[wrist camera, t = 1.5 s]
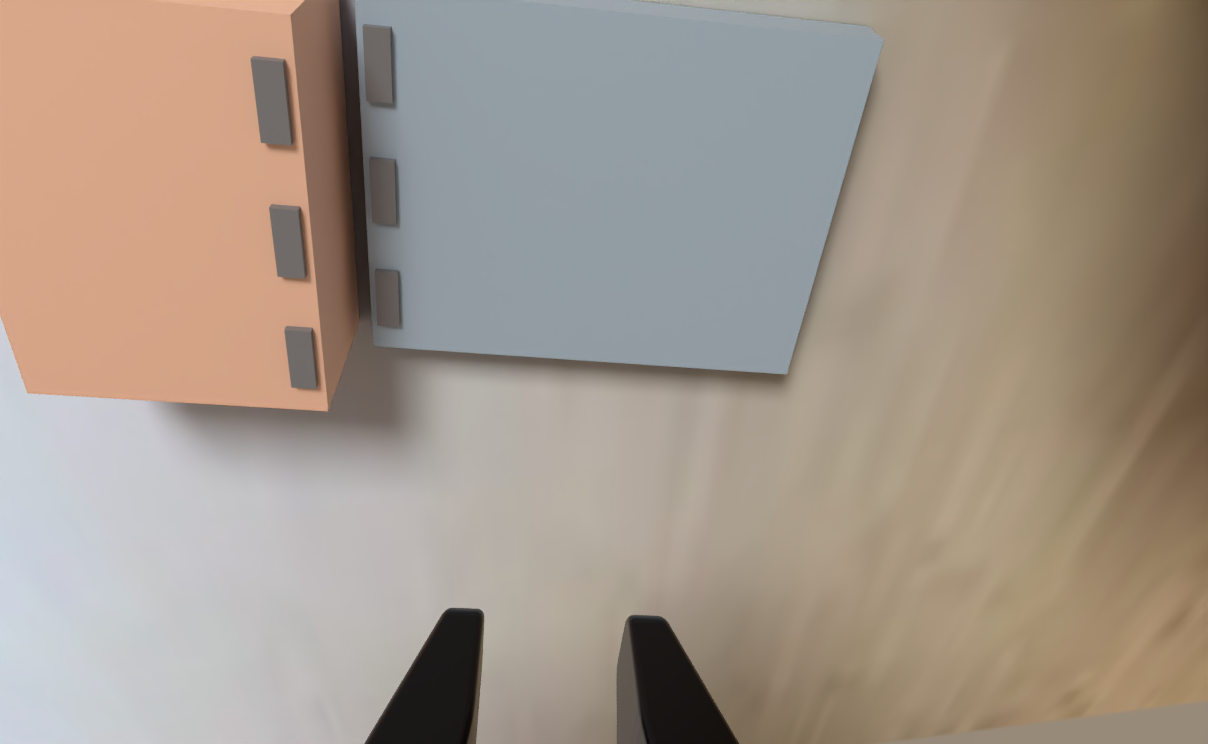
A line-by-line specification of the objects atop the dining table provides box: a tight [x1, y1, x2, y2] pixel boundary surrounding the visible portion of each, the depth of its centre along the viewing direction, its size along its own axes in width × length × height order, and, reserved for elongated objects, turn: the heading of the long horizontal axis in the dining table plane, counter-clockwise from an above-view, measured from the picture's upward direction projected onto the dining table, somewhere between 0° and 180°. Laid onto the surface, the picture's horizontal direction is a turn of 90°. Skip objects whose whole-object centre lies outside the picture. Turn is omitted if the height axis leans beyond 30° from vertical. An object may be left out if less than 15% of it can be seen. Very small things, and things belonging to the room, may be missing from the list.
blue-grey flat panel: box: [355, 0, 884, 374], centre depth 19 cm, size 10×8×1 cm
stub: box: [0, 0, 359, 411], centre depth 17 cm, size 6×8×4 cm
